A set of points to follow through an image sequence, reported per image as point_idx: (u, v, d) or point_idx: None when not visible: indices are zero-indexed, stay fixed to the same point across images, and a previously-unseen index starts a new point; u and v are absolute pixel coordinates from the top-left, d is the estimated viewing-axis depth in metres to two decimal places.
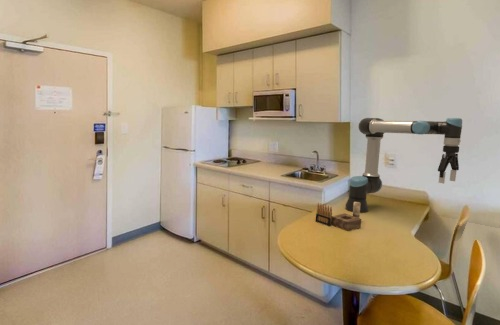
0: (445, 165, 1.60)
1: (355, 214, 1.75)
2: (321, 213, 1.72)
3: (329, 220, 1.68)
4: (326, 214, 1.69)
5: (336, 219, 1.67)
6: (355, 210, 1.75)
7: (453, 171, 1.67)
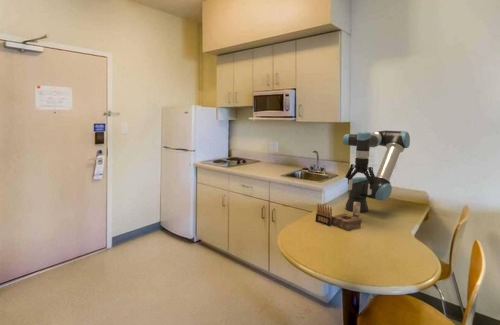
0: (351, 174, 1.78)
1: (355, 214, 1.75)
2: (321, 213, 1.72)
3: (329, 220, 1.68)
4: (326, 214, 1.69)
5: (336, 219, 1.67)
6: (355, 210, 1.75)
7: None
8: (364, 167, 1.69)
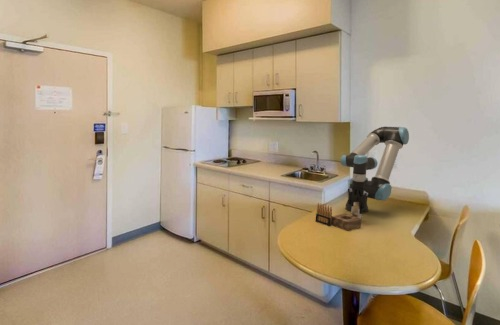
0: (352, 199, 1.78)
1: (355, 214, 1.75)
2: (321, 213, 1.72)
3: (329, 220, 1.68)
4: (326, 214, 1.69)
5: (336, 219, 1.67)
6: (355, 210, 1.75)
7: None
8: (361, 190, 1.71)
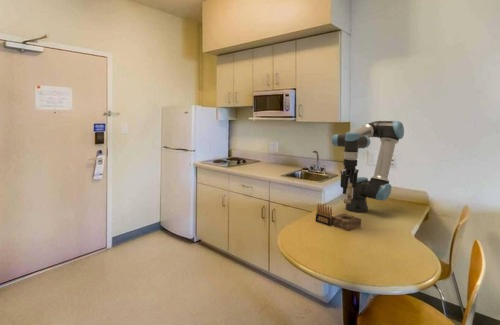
0: (346, 181, 1.63)
1: (351, 195, 1.65)
2: (321, 213, 1.72)
3: (329, 220, 1.68)
4: (326, 214, 1.69)
5: (336, 219, 1.67)
6: (351, 191, 1.65)
7: None
8: (354, 168, 1.65)
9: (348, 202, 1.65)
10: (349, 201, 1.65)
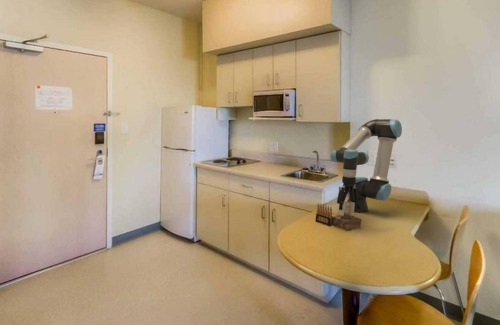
0: (343, 197, 1.64)
1: (349, 214, 1.67)
2: (321, 213, 1.72)
3: (329, 220, 1.68)
4: (326, 214, 1.69)
5: (336, 219, 1.67)
6: None
7: (351, 203, 1.70)
8: (353, 185, 1.66)
9: None
10: None
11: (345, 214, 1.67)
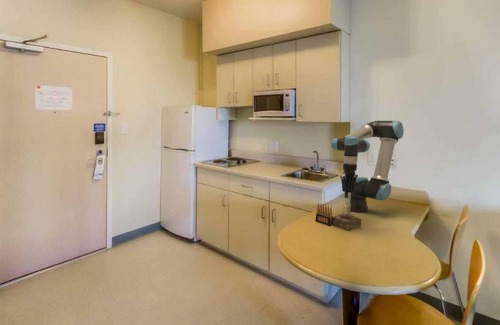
0: (347, 185, 1.64)
1: (349, 215, 1.67)
2: (321, 213, 1.72)
3: (329, 220, 1.68)
4: (326, 214, 1.69)
5: (336, 219, 1.67)
6: None
7: None
8: (354, 172, 1.65)
9: None
10: None
11: (345, 215, 1.67)
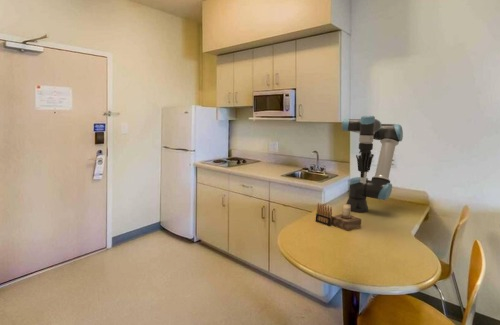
0: (363, 165, 1.64)
1: (349, 217, 1.67)
2: (321, 213, 1.72)
3: (329, 220, 1.68)
4: (326, 214, 1.69)
5: (336, 219, 1.67)
6: (349, 213, 1.67)
7: None
8: (370, 152, 1.65)
9: None
10: None
11: (345, 217, 1.67)
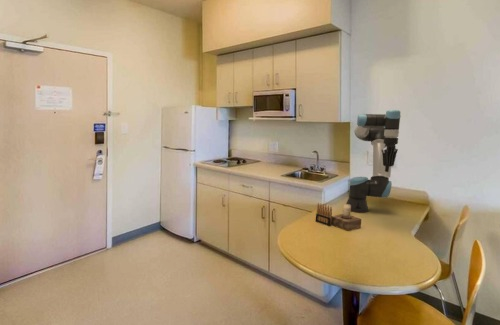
0: (388, 159, 1.66)
1: (349, 217, 1.67)
2: (321, 213, 1.72)
3: (329, 220, 1.68)
4: (326, 214, 1.69)
5: (336, 219, 1.67)
6: None
7: None
8: (394, 146, 1.67)
9: None
10: None
11: (345, 217, 1.67)
